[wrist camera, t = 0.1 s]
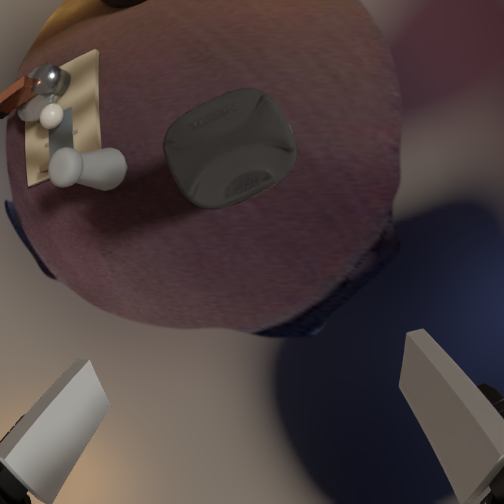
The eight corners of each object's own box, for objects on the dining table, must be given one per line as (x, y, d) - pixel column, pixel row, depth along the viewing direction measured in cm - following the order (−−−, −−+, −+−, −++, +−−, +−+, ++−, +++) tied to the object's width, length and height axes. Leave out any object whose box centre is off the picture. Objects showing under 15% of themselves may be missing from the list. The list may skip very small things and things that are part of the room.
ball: (50, 111, 32) (34, 107, 28) (68, 102, 32) (52, 97, 28) (50, 133, 33) (34, 131, 29) (68, 125, 33) (52, 121, 29)
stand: (30, 88, 33) (16, 84, 28) (99, 51, 31) (85, 42, 27) (32, 186, 37) (16, 187, 33) (102, 159, 35) (86, 158, 31)
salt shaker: (138, 155, 35) (85, 146, 23) (126, 195, 37) (70, 201, 24) (106, 145, 35) (48, 135, 22) (94, 183, 36) (35, 186, 24)
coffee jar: (223, 208, 36) (184, 232, 18) (197, 154, 35) (136, 128, 17) (293, 177, 35) (321, 168, 17) (266, 121, 34) (266, 63, 16)
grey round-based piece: (11, 92, 31) (-16, 87, 24) (72, 54, 30) (46, 39, 23) (8, 140, 33) (-20, 138, 26) (70, 105, 32) (40, 96, 25)
